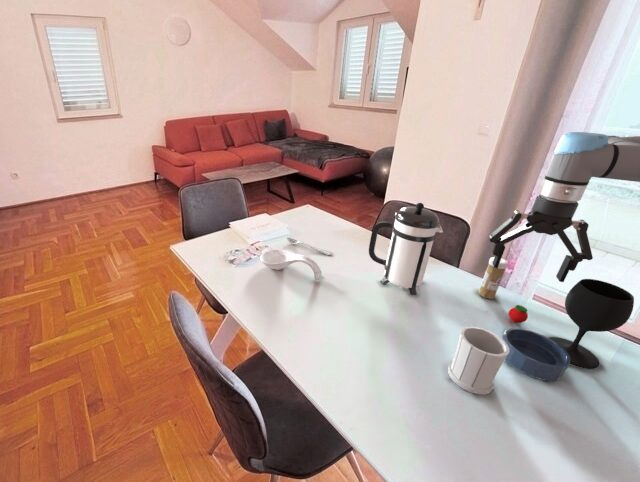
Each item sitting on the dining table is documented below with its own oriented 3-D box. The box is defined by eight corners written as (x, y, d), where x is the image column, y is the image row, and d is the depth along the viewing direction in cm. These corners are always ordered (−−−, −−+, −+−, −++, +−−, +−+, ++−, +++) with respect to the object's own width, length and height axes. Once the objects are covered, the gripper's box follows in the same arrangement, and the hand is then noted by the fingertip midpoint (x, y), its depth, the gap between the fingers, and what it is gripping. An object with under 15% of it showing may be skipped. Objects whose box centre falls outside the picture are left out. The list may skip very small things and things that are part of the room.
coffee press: (409, 269, 118) (428, 193, 106) (434, 295, 103) (459, 211, 91) (363, 269, 117) (377, 194, 105) (382, 296, 103) (401, 212, 91)
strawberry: (520, 319, 93) (527, 305, 91) (526, 328, 89) (533, 314, 87) (503, 315, 94) (510, 301, 92) (508, 324, 91) (515, 310, 89)
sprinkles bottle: (491, 301, 100) (505, 265, 95) (475, 294, 104) (488, 259, 99) (496, 296, 103) (510, 260, 98) (480, 289, 106) (493, 254, 101)
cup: (446, 353, 81) (459, 317, 76) (489, 368, 77) (506, 331, 72) (447, 384, 73) (461, 345, 68) (495, 403, 68) (514, 363, 64)
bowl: (547, 350, 82) (555, 336, 80) (572, 389, 72) (581, 373, 70) (491, 337, 86) (497, 323, 84) (507, 372, 76) (514, 357, 74)
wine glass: (543, 353, 81) (575, 290, 73) (544, 332, 88) (574, 271, 80) (601, 377, 75) (644, 310, 67) (597, 351, 82) (635, 288, 74)
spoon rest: (254, 267, 119) (254, 250, 116) (269, 254, 128) (270, 239, 125) (313, 288, 106) (315, 271, 104) (325, 273, 115) (327, 256, 112)
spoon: (288, 239, 140) (288, 235, 140) (332, 252, 129) (333, 249, 128) (284, 242, 137) (284, 239, 136) (329, 257, 126) (329, 253, 125)
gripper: (496, 194, 78) (471, 266, 87) (640, 212, 67) (595, 293, 76) (492, 186, 84) (469, 254, 93) (623, 202, 73) (583, 278, 82)
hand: (526, 272), depth 84 cm, fingers open, 13 cm apart
